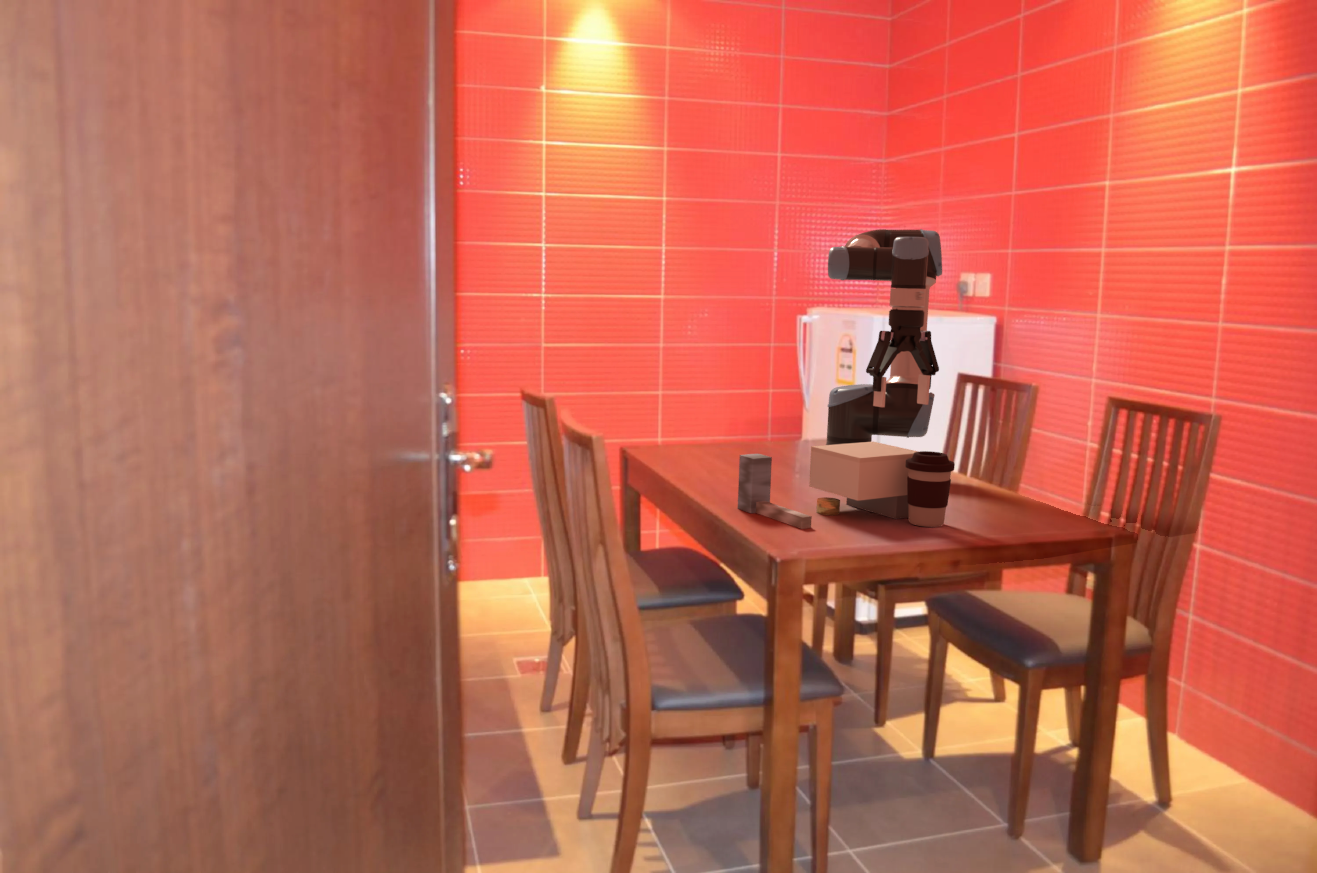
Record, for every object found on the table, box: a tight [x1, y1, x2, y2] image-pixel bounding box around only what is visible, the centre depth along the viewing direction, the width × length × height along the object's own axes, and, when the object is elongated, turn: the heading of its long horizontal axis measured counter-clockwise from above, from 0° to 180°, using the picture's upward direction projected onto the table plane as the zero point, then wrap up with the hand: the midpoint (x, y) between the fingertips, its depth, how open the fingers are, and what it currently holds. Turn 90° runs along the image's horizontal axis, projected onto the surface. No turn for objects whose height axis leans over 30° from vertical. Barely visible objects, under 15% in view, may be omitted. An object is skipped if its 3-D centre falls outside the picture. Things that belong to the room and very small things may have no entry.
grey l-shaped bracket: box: [737, 453, 812, 530], centre depth 224 cm, size 21×5×12 cm, turn 31°
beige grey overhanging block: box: [808, 441, 920, 520], centre depth 231 cm, size 16×18×14 cm
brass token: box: [816, 496, 841, 516], centre depth 230 cm, size 5×5×3 cm
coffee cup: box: [906, 450, 955, 528], centre depth 221 cm, size 10×10×15 cm
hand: (901, 405), depth 233 cm, fingers open, 13 cm apart
